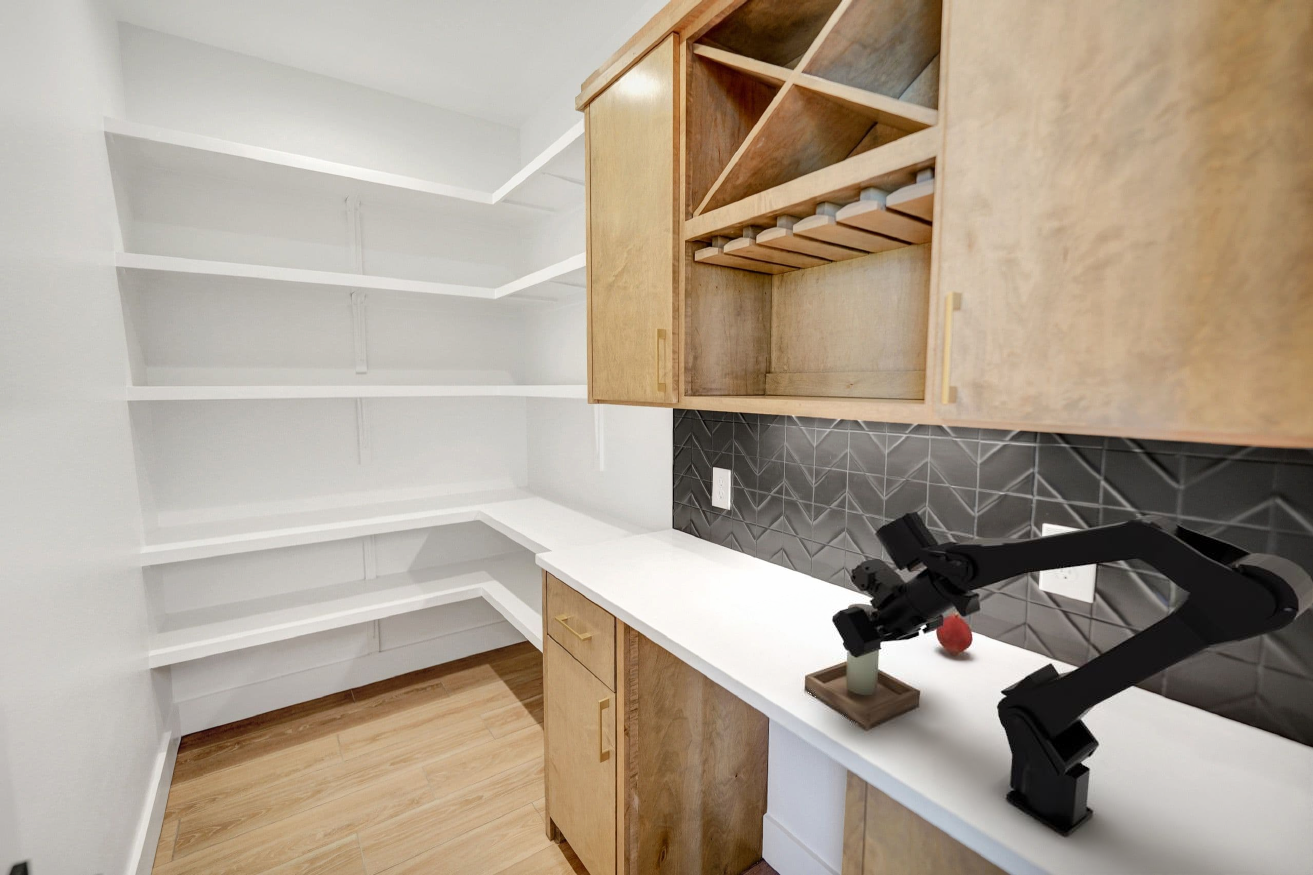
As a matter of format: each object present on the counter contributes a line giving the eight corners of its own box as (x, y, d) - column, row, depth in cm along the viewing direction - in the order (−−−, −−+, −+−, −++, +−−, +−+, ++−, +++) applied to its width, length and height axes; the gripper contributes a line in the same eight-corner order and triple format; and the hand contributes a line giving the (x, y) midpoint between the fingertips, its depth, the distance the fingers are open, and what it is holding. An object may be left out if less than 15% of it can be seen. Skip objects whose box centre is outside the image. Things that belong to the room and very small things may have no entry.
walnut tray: (919, 706, 86) (920, 691, 86) (866, 730, 80) (866, 713, 80) (855, 671, 96) (856, 657, 96) (804, 690, 90) (805, 675, 90)
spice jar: (883, 686, 88) (887, 609, 87) (870, 699, 84) (873, 619, 83) (853, 675, 91) (856, 601, 90) (839, 687, 88) (842, 609, 87)
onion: (928, 649, 104) (930, 608, 104) (951, 644, 106) (953, 604, 106) (954, 664, 99) (957, 620, 98) (978, 659, 101) (981, 616, 100)
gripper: (929, 539, 87) (867, 586, 97) (845, 557, 78) (786, 607, 88) (976, 605, 81) (905, 648, 91) (891, 634, 72) (823, 678, 82)
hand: (855, 643), depth 88 cm, fingers closed on spice jar, 5 cm apart
